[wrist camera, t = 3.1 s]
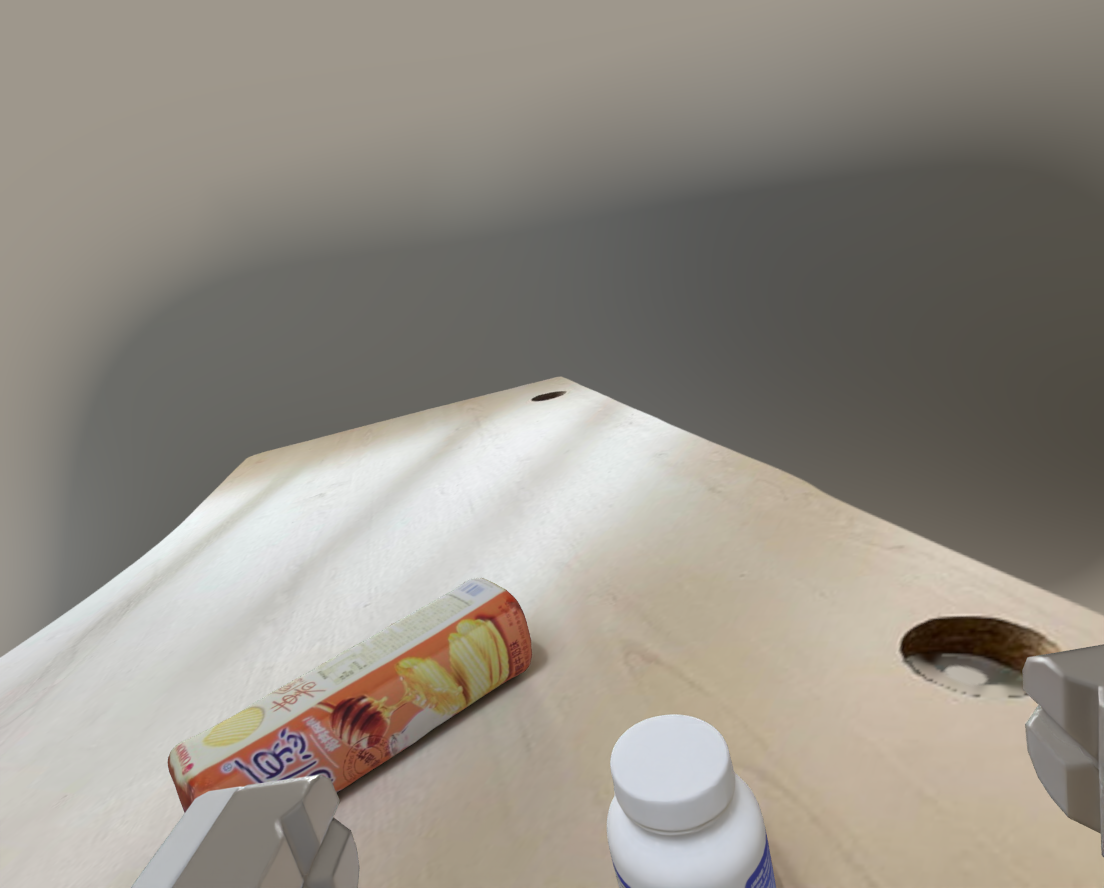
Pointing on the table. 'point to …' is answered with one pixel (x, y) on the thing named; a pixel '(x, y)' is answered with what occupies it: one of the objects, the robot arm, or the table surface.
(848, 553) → the table surface
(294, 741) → the snack package
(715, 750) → the pill bottle
